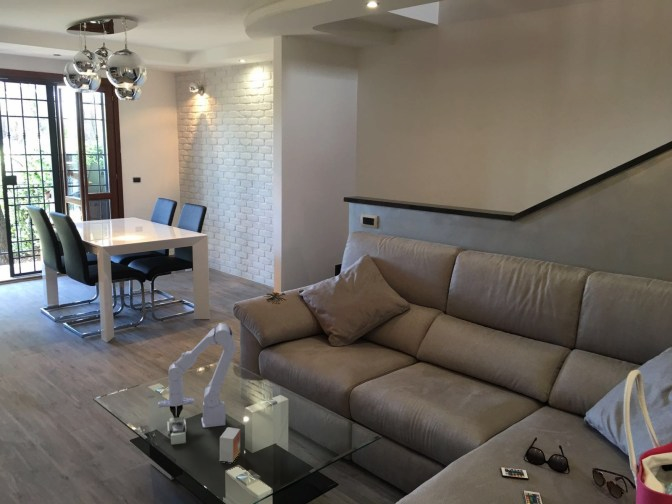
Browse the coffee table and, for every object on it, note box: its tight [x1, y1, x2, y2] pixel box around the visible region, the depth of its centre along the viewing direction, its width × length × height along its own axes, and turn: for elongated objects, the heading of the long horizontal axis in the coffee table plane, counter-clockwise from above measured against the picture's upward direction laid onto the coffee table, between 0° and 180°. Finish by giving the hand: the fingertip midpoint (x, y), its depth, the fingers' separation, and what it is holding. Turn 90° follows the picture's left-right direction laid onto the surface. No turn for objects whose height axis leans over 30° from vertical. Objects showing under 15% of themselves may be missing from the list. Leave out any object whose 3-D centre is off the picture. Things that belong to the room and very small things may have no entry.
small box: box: [219, 426, 241, 462], centre depth 217 cm, size 8×6×10 cm
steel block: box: [171, 422, 184, 434], centre depth 230 cm, size 4×6×5 cm, turn 19°
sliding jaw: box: [169, 416, 185, 432], centre depth 236 cm, size 6×4×4 cm, turn 109°
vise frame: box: [166, 419, 188, 446], centre depth 233 cm, size 7×16×4 cm, turn 19°
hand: (176, 420), depth 239 cm, fingers closed, pressing on sliding jaw
